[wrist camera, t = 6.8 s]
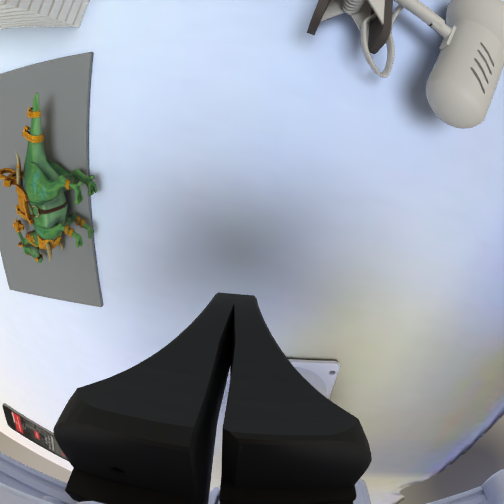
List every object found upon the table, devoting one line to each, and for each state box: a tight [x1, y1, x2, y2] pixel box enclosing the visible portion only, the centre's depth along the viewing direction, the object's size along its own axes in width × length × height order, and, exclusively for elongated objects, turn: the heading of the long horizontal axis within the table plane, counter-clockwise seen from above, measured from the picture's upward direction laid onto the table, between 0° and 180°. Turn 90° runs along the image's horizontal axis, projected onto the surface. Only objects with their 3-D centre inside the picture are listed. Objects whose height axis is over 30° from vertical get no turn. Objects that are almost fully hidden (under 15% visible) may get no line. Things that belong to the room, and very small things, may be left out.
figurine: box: [0, 92, 97, 263], centre depth 17 cm, size 3×12×8 cm
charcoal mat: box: [0, 52, 103, 307], centre depth 19 cm, size 18×10×1 cm, turn 175°
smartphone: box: [3, 404, 69, 461], centre depth 33 cm, size 7×1×15 cm
